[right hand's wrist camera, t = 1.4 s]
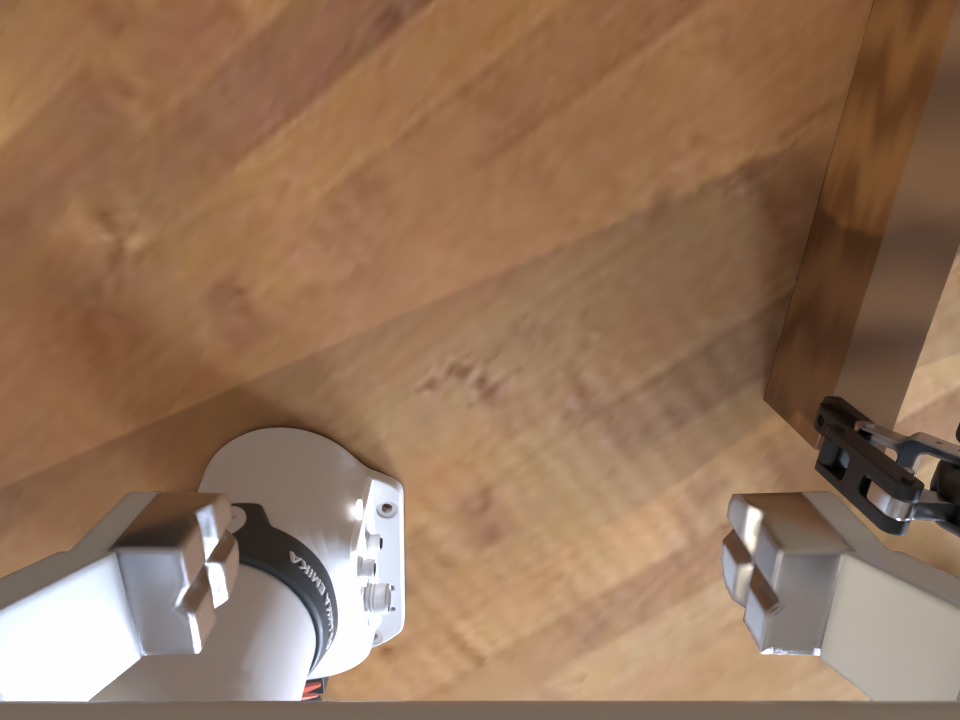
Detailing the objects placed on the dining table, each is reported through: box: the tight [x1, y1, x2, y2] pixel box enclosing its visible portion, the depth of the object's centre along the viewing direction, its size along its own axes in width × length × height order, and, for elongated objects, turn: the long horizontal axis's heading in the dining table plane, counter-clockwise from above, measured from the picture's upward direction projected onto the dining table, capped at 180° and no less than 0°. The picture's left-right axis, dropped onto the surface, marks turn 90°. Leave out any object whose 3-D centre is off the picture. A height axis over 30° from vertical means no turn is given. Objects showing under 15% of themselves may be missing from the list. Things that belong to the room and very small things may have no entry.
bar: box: [764, 0, 960, 453], centre depth 40 cm, size 28×5×8 cm, turn 174°
